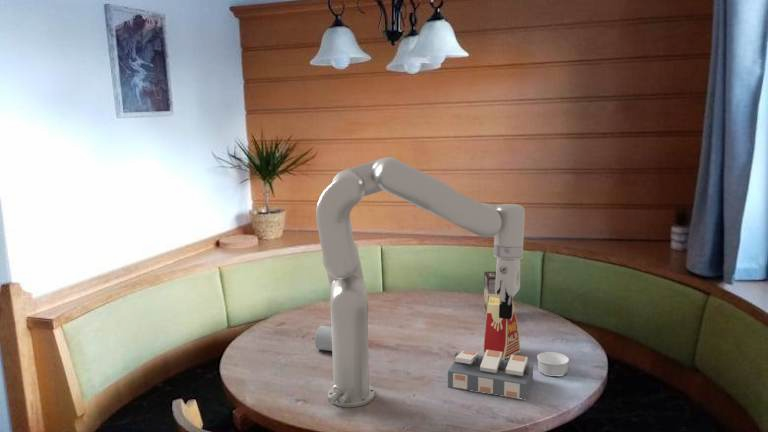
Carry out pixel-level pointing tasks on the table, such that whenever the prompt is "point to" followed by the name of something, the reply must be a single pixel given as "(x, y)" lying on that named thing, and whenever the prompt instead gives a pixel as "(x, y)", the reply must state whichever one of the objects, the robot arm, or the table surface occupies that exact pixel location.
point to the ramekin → (552, 363)
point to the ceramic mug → (324, 338)
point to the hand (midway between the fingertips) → (505, 317)
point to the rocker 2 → (516, 365)
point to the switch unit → (490, 379)
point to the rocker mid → (491, 361)
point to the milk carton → (500, 330)
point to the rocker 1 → (466, 357)
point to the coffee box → (488, 287)
